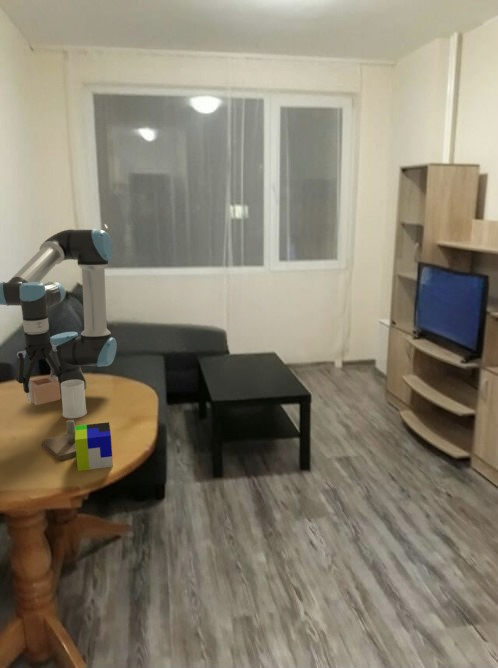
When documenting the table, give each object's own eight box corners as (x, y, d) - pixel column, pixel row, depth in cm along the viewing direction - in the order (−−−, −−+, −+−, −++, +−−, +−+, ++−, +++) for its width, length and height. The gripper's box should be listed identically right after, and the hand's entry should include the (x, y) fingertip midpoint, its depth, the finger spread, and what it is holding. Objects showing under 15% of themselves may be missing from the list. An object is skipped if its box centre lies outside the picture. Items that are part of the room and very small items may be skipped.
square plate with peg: (83, 432, 185) (81, 409, 183) (102, 446, 175) (100, 422, 173) (42, 445, 176) (39, 420, 174) (60, 460, 166) (57, 434, 164)
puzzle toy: (112, 466, 163) (110, 435, 160) (77, 471, 160) (75, 439, 158) (111, 451, 172) (109, 422, 170) (77, 455, 169) (75, 425, 167)
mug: (84, 421, 194) (82, 389, 191) (59, 423, 193) (56, 391, 190) (88, 408, 206) (85, 378, 203) (64, 410, 204) (61, 379, 201)
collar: (51, 392, 186) (49, 375, 184) (60, 399, 180) (59, 382, 178) (27, 398, 180) (25, 381, 179) (36, 405, 175) (34, 387, 173)
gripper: (7, 339, 165) (15, 409, 171) (73, 327, 178) (79, 393, 184) (-2, 334, 170) (7, 402, 176) (63, 323, 183) (69, 387, 189)
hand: (44, 397), depth 180 cm, fingers closed on collar, 8 cm apart
